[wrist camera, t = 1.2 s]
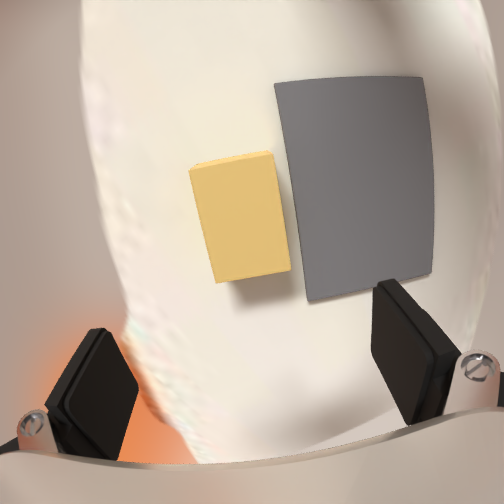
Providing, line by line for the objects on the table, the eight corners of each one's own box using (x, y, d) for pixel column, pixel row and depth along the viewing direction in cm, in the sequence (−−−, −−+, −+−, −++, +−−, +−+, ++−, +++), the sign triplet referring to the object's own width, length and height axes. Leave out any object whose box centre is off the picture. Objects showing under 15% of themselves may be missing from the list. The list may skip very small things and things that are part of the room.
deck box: (197, 163, 25) (188, 170, 21) (267, 150, 25) (272, 153, 21) (219, 260, 28) (215, 283, 24) (283, 248, 28) (291, 270, 24)
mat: (273, 84, 22) (274, 83, 22) (419, 78, 22) (422, 77, 21) (306, 298, 30) (307, 301, 29) (428, 270, 29) (431, 273, 29)
